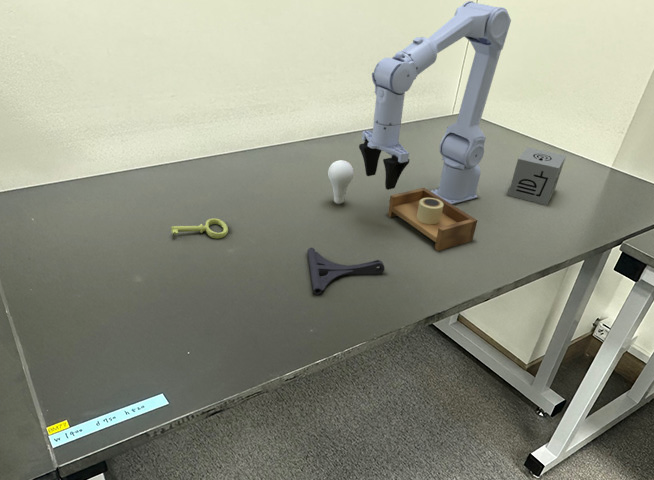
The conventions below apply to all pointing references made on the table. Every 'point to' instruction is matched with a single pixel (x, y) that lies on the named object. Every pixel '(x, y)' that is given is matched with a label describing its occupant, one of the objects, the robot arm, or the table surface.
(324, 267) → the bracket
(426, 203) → the tape roll
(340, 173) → the lightbulb
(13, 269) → the table surface
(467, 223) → the shelf
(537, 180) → the icon cube
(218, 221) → the key
